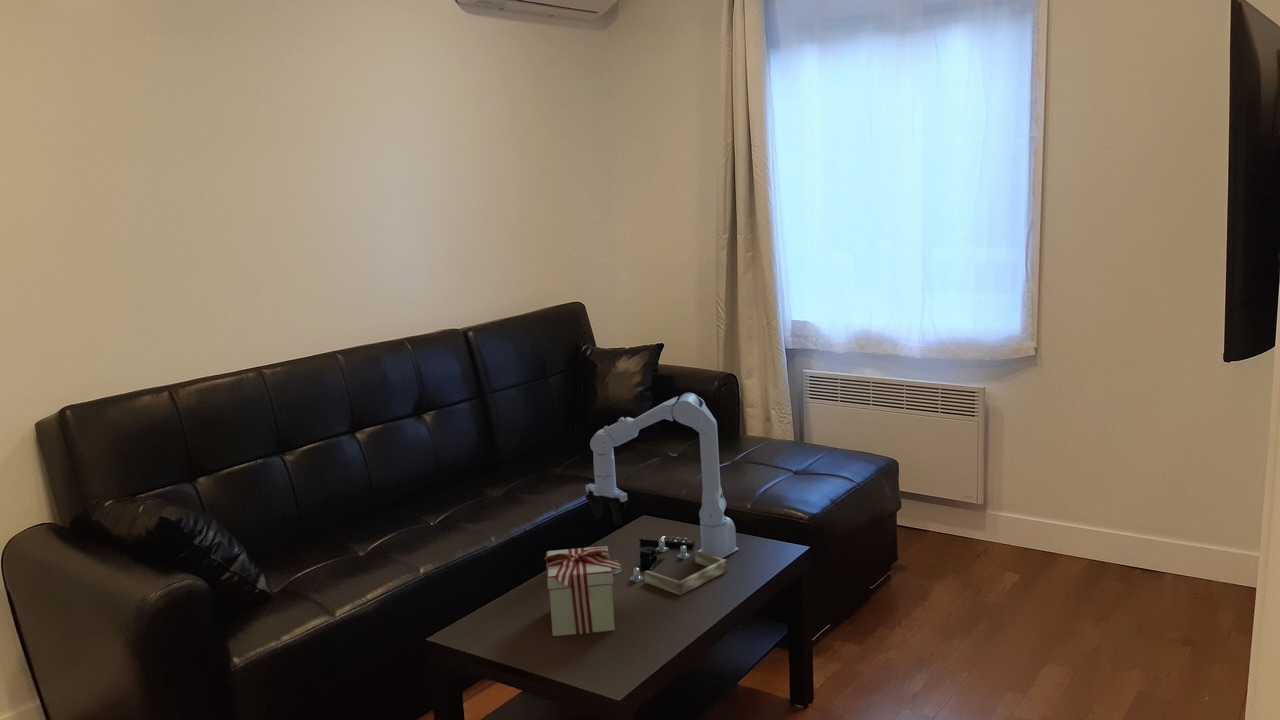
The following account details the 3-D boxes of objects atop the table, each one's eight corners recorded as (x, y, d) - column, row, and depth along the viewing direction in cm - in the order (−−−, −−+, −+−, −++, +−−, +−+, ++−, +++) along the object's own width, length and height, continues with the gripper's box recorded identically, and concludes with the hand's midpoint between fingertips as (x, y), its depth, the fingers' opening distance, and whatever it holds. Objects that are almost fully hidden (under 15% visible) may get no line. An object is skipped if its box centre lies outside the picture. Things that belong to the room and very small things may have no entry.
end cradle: (692, 559, 252) (691, 549, 252) (727, 570, 244) (726, 559, 243) (645, 582, 240) (644, 571, 239) (680, 595, 231) (679, 583, 231)
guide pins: (662, 547, 261) (661, 537, 261) (690, 556, 254) (689, 546, 254) (608, 572, 247) (607, 561, 247) (636, 582, 240) (636, 571, 240)
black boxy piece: (650, 577, 244) (649, 560, 243) (625, 573, 248) (624, 556, 247) (671, 558, 255) (670, 542, 254) (646, 555, 258) (645, 539, 258)
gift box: (553, 646, 210) (547, 573, 207) (545, 610, 228) (539, 542, 224) (629, 635, 213) (624, 563, 210) (615, 600, 231) (610, 533, 227)
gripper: (576, 472, 259) (579, 519, 262) (612, 482, 249) (615, 531, 252) (595, 466, 264) (598, 512, 267) (631, 475, 254) (634, 523, 257)
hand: (608, 521), depth 260 cm, fingers open, 7 cm apart
